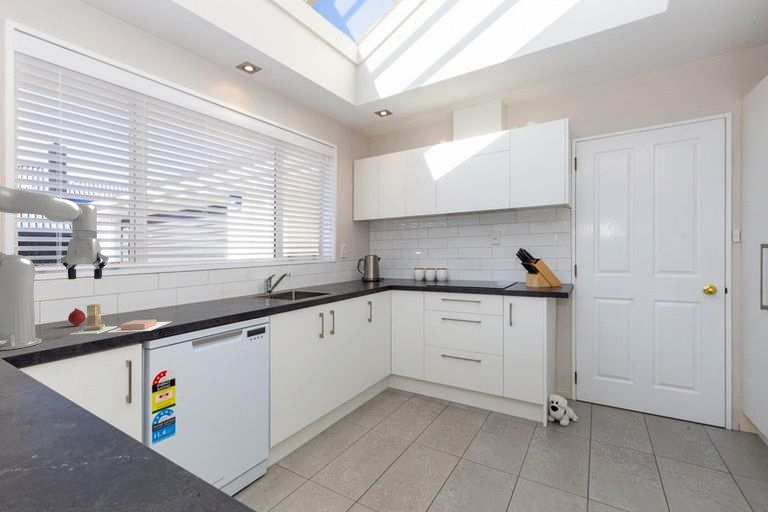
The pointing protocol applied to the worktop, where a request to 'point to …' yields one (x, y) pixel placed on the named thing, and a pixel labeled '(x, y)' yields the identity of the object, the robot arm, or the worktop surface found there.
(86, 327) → the wooden block stack
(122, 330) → the mat
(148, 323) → the tile
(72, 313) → the onion
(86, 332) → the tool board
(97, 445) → the worktop surface
